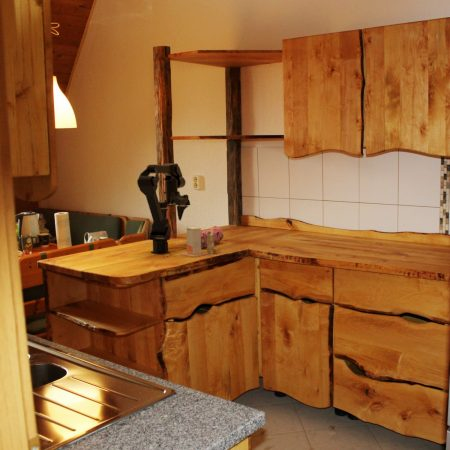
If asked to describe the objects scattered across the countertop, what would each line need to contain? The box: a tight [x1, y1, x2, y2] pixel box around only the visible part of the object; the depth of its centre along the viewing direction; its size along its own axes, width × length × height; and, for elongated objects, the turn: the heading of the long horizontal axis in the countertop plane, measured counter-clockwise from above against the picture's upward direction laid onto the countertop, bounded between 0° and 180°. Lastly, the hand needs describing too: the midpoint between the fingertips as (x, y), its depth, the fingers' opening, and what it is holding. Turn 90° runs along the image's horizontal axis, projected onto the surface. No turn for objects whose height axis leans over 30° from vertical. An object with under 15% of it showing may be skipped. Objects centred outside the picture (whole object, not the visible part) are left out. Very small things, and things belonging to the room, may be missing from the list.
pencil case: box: [201, 225, 224, 250], centre depth 303 cm, size 21×9×9 cm, turn 154°
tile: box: [180, 251, 209, 258], centre depth 280 cm, size 9×9×1 cm
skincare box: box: [186, 226, 202, 255], centre depth 280 cm, size 6×4×12 cm
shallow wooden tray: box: [206, 231, 215, 255], centre depth 286 cm, size 3×11×9 cm, turn 0°
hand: (172, 221), depth 298 cm, fingers open, 9 cm apart
